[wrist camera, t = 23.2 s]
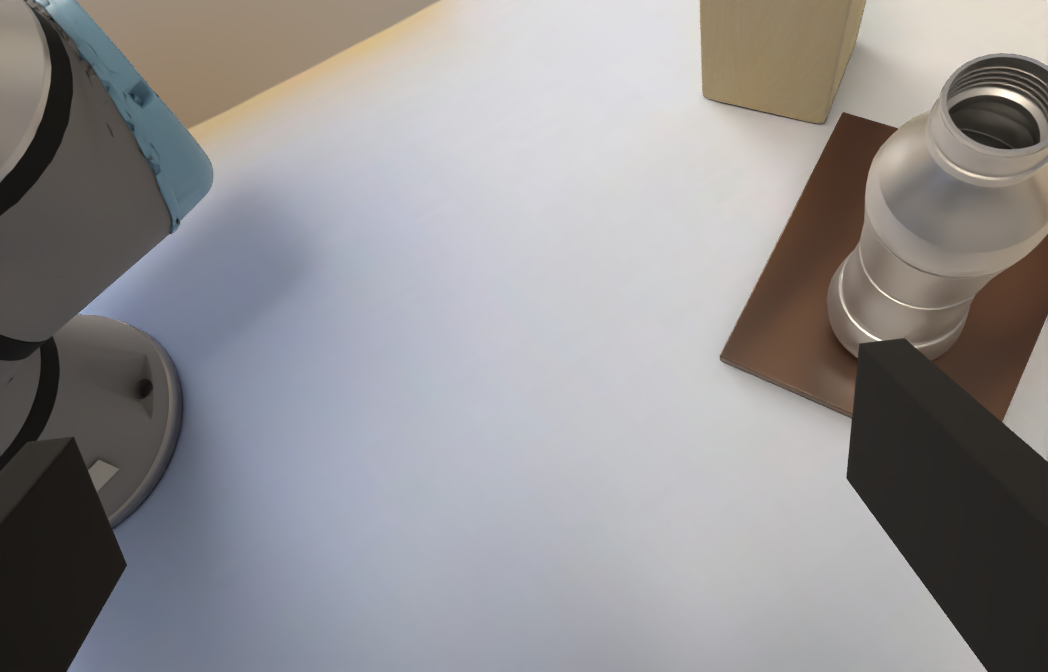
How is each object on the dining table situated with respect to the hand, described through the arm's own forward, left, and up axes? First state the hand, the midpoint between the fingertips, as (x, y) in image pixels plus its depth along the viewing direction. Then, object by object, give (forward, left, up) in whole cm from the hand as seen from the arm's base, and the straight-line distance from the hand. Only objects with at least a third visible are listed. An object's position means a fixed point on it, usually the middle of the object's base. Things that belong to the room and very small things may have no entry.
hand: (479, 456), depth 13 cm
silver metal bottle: (+6, +17, -31) cm, 36 cm away
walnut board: (+6, +20, -31) cm, 38 cm away
